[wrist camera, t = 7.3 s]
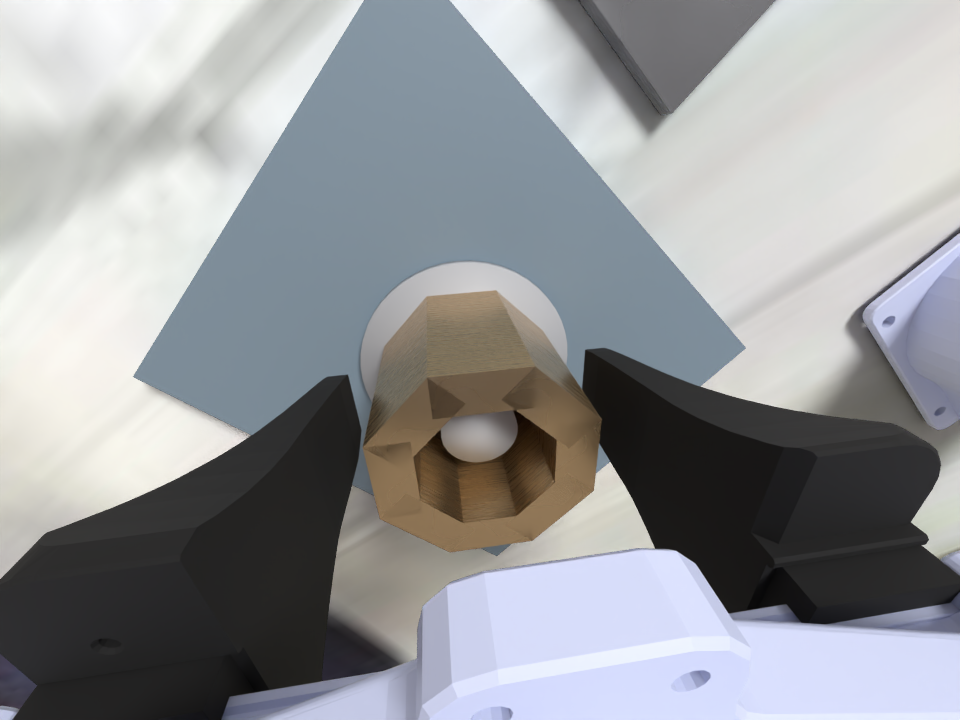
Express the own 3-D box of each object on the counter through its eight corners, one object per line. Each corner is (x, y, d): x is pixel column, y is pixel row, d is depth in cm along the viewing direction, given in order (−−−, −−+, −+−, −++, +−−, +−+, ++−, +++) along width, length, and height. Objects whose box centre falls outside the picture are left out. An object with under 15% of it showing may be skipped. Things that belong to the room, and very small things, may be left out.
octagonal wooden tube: (544, 286, 12) (609, 359, 8) (540, 420, 15) (589, 532, 10) (376, 300, 12) (347, 386, 8) (401, 436, 14) (390, 560, 10)
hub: (731, 339, 16) (844, 408, 11) (494, 541, 19) (513, 648, 15) (401, -42, 9) (382, -201, 5) (148, 365, 13) (18, 463, 9)
